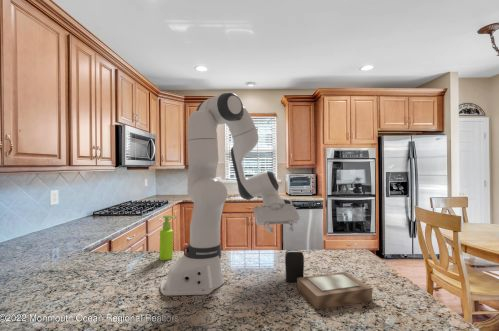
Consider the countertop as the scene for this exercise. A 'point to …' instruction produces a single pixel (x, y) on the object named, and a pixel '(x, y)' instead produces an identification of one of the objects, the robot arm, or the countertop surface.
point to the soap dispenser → (166, 240)
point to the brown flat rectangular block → (333, 290)
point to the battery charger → (294, 265)
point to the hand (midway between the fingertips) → (281, 231)
